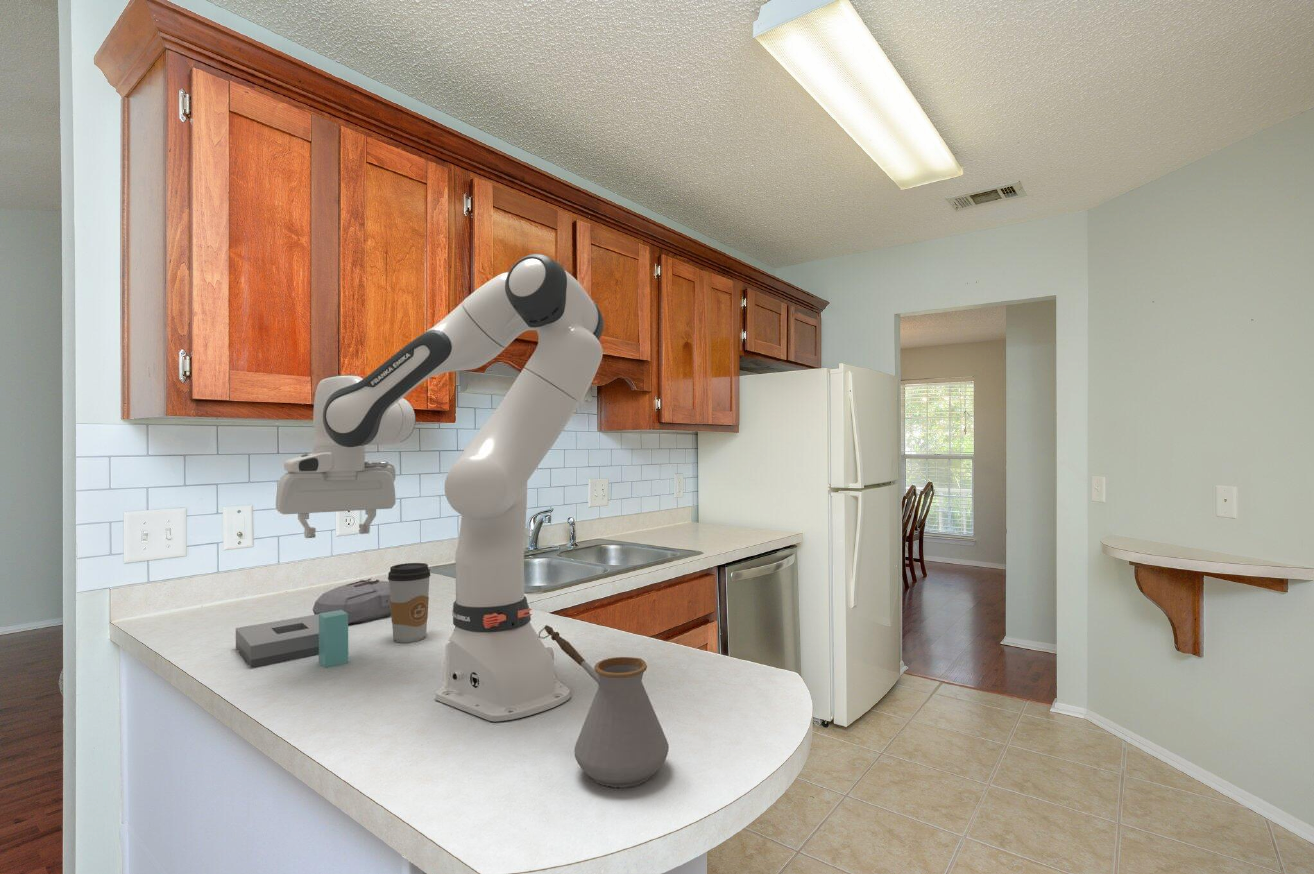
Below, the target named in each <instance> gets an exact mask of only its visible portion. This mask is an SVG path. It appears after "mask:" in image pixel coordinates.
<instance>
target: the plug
mask: <svg viewBox="0 0 1314 874" xmlns="http://www.w3.org/2000/svg"><path fill="white" fill-rule="evenodd" d="M318 663H319V664H320V665H321V666H322V667H324V668H325V669H326V668H330V667H334V666H338V665H342V664H348V663H349V624H348V613H346V612H344V611H343V610H338V611H332V612H326V613H320V614H319V654H318Z"/></svg>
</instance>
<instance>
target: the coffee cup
mask: <svg viewBox="0 0 1314 874" xmlns="http://www.w3.org/2000/svg"><path fill="white" fill-rule="evenodd" d="M430 571H431V569H429V565H428V563H424V562H408V563H399V564H396V565H392V566H390V567H389V572H388V577H387V580H388V581H389V588H390V607H391V615H390V616H391V625H392V636H393V639H394V641H395V642H397V643H402V644H405V643H408V644H409V643H414V642H415V643H416V642H419V641H421V640H424V639H425V636H426V635H427V629H428V627H427V626H428V616H429V602H430V599H429V598H430V597H429V596H430V595H429V593H430V578H431V572H430Z"/></svg>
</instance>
